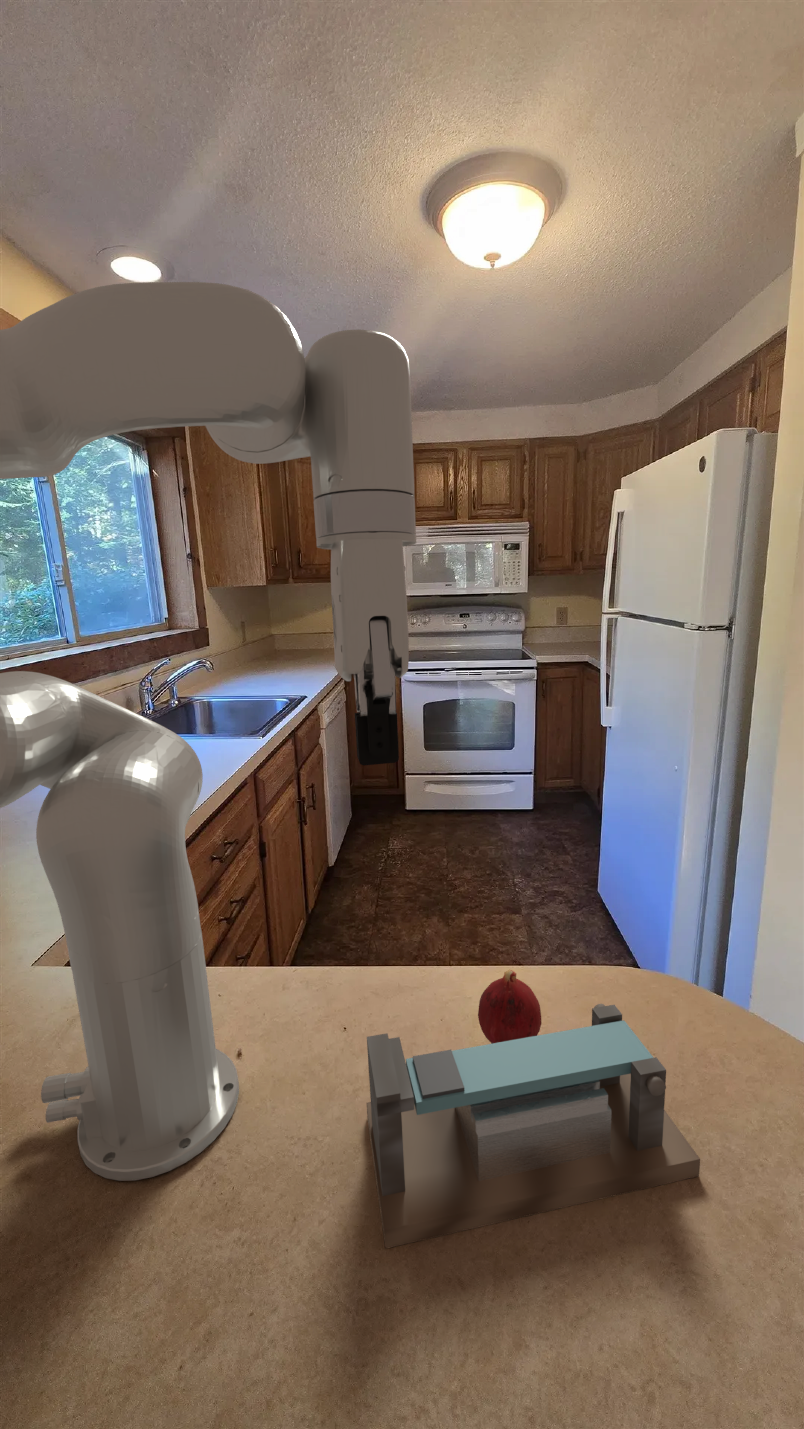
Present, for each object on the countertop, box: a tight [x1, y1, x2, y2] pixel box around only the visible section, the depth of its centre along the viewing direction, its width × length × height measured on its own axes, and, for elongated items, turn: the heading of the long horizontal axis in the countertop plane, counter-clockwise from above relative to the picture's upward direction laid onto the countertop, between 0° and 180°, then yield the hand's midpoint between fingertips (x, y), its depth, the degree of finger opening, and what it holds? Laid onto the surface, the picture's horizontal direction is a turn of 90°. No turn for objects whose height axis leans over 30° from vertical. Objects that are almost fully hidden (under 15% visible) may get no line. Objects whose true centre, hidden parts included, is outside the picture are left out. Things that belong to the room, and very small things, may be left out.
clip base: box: [366, 1003, 701, 1249], centre depth 44 cm, size 23×10×10 cm, turn 100°
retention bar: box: [405, 1019, 655, 1115], centre depth 44 cm, size 18×4×1 cm, turn 100°
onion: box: [477, 969, 543, 1044], centre depth 54 cm, size 6×6×8 cm
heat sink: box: [456, 1080, 611, 1181], centre depth 44 cm, size 10×6×4 cm, turn 100°
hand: (378, 760), depth 47 cm, fingers closed
